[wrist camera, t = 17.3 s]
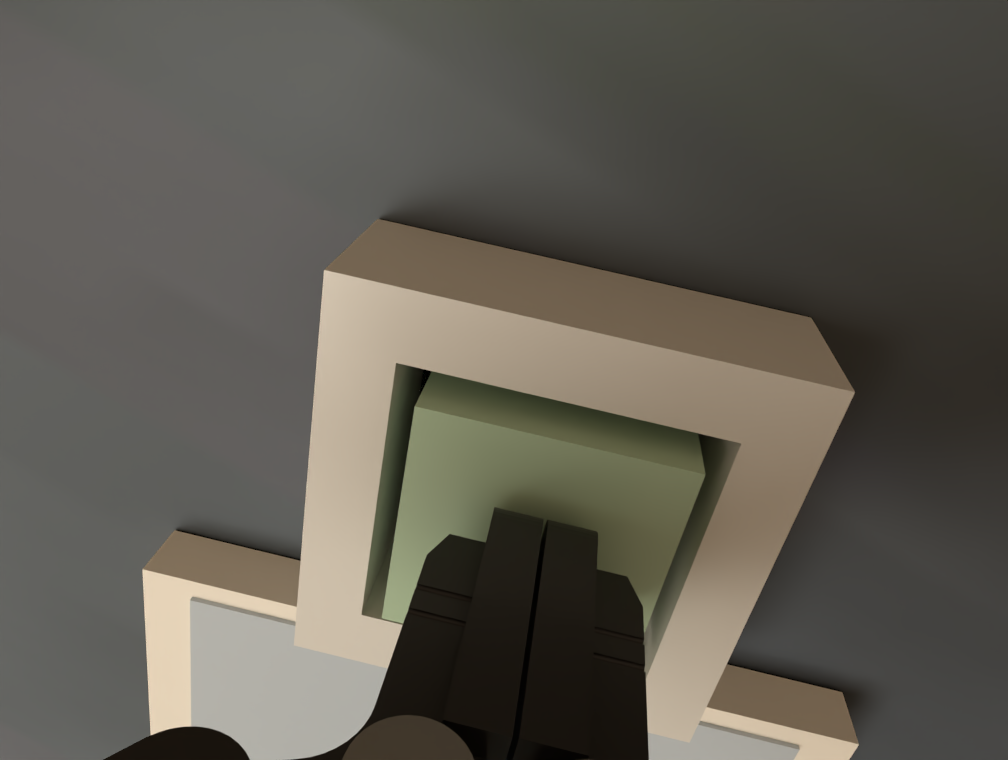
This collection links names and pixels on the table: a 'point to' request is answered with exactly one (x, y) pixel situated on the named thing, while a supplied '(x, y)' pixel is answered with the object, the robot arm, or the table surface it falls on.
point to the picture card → (381, 672)
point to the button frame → (572, 379)
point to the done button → (541, 480)
